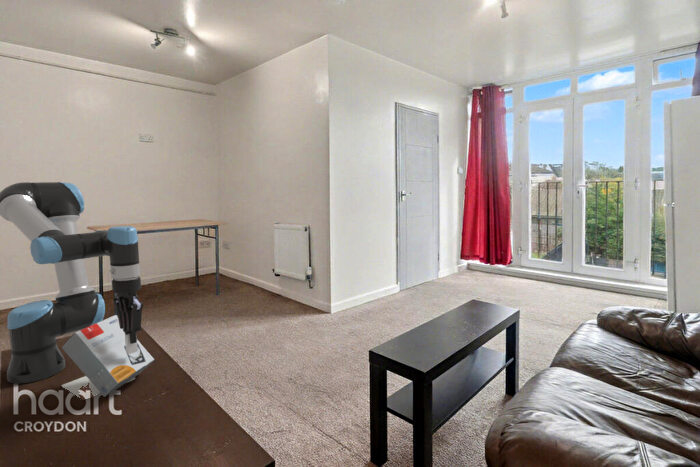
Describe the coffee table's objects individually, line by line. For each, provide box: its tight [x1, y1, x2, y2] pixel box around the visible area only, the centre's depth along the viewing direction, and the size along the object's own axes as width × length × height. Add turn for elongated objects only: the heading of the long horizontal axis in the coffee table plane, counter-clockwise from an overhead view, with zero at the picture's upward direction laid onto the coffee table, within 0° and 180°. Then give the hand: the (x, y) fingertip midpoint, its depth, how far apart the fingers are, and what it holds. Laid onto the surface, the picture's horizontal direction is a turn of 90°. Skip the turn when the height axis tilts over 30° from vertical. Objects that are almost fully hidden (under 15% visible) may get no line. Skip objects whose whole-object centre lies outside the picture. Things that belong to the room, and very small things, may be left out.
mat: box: [61, 375, 136, 399], centre depth 120 cm, size 15×15×1 cm
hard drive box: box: [61, 314, 155, 398], centre depth 118 cm, size 16×8×20 cm
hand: (132, 352), depth 117 cm, fingers closed
